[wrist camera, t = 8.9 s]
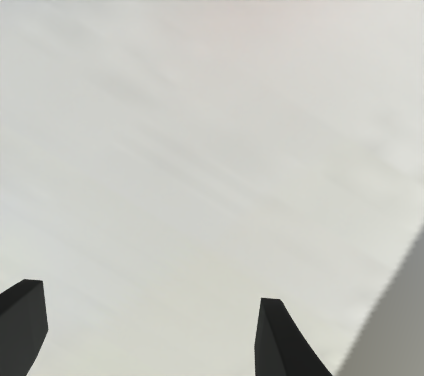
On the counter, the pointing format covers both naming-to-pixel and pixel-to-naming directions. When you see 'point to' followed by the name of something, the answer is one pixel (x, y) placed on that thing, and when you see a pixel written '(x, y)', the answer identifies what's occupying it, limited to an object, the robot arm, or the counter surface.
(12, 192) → the counter surface
